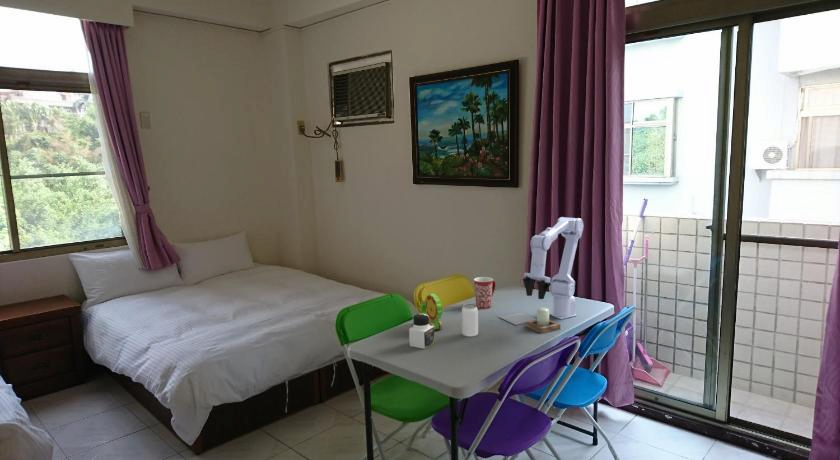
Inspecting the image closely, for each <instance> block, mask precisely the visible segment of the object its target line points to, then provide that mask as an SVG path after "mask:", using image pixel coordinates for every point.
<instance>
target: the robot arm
mask: <svg viewBox="0 0 840 460" xmlns="http://www.w3.org/2000/svg"><path fill="white" fill-rule="evenodd" d="M584 226H585V225H584V221H583V219H582V218H579V217H577V218H575V217H564V216H561V217H559V218H557V223H556V224H555V225H553V227H547V228H545V230H543V231H542V232H540V233H539V234H538V235H537V234H535V235H534V236H532V237H531V238H530V239H531V240H530V242H529V243H530V251H531V260H530V261H531V262H530V270H529V271H530V272H524V273H523V277H524V278H522V281H523V284H524V286H525V293H526V296H528V297H531V296H532V295H533V292H534V286H535V283H537V289H538V290H537V291H538V292H537V293H538V294H537V298H538V300H544V299H545V297H546V293H547V291H548V290H549V293H550V295H551V296H552V299H553V300H552V302H553V303H552V304H553V305H552V307H553V308H552V312H549V316H552V317H554V318H557V319H558V320H563V319H568V318H573V317H577V315H578V314H577V313H576V310H577V308H576V307H577V303H576V302H577V301H576V298H575V296H574V294H575V289H576V287H575V286H576V281H575V280H574V278H573V277H572V276H571V273H572V269H573V265H574V260H575V255H576V251H577V248H578V241H579V239H581V238H582V234H583V232H584ZM560 234H561V236H562V237H564V238H565V244H564V248H563V251H562V257H561V259H560V266H559V270H558V273H557V274H555V275H553V276H552V278H551V277H549V276H546V275H545V272H546V262H547V261H546V260H547V253H548V252H547V251H548V250H549V249H550V247H551V245H552V243H554V241H556V240H557V239H558V236H559V235H560Z"/></svg>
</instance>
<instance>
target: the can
mask: <svg viewBox="0 0 840 460" xmlns="http://www.w3.org/2000/svg"><path fill="white" fill-rule="evenodd" d="M478 309H479V308H477V306H476V304H473V303H465V304H463V305H462V308H461V330H462V331H461V332H462V335H463V336H464V337H468V338H471V337H472V338H473V337H477V336H478V334H479V310H478Z"/></svg>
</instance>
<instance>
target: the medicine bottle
mask: <svg viewBox="0 0 840 460" xmlns="http://www.w3.org/2000/svg"><path fill="white" fill-rule="evenodd" d="M426 314H427V313H426ZM426 314H421V313H418V314H415V315H413V317H412V318H413V319H412V320H413V326H411V327H410V328H409V329H408V333H409V334H408V337H409V347H413V348H417V349H423V350H426V349H428V348H429V347H430V346H432V345H434V344H435V330H434V326H430V325H429V316H428V315H426Z"/></svg>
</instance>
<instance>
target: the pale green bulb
mask: <svg viewBox="0 0 840 460" xmlns="http://www.w3.org/2000/svg"><path fill="white" fill-rule="evenodd" d="M549 313H550V308H548V307H537V308H536V319H537V325H538V326H541V327H544V326H548V325H549V320H550V315H549Z"/></svg>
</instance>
